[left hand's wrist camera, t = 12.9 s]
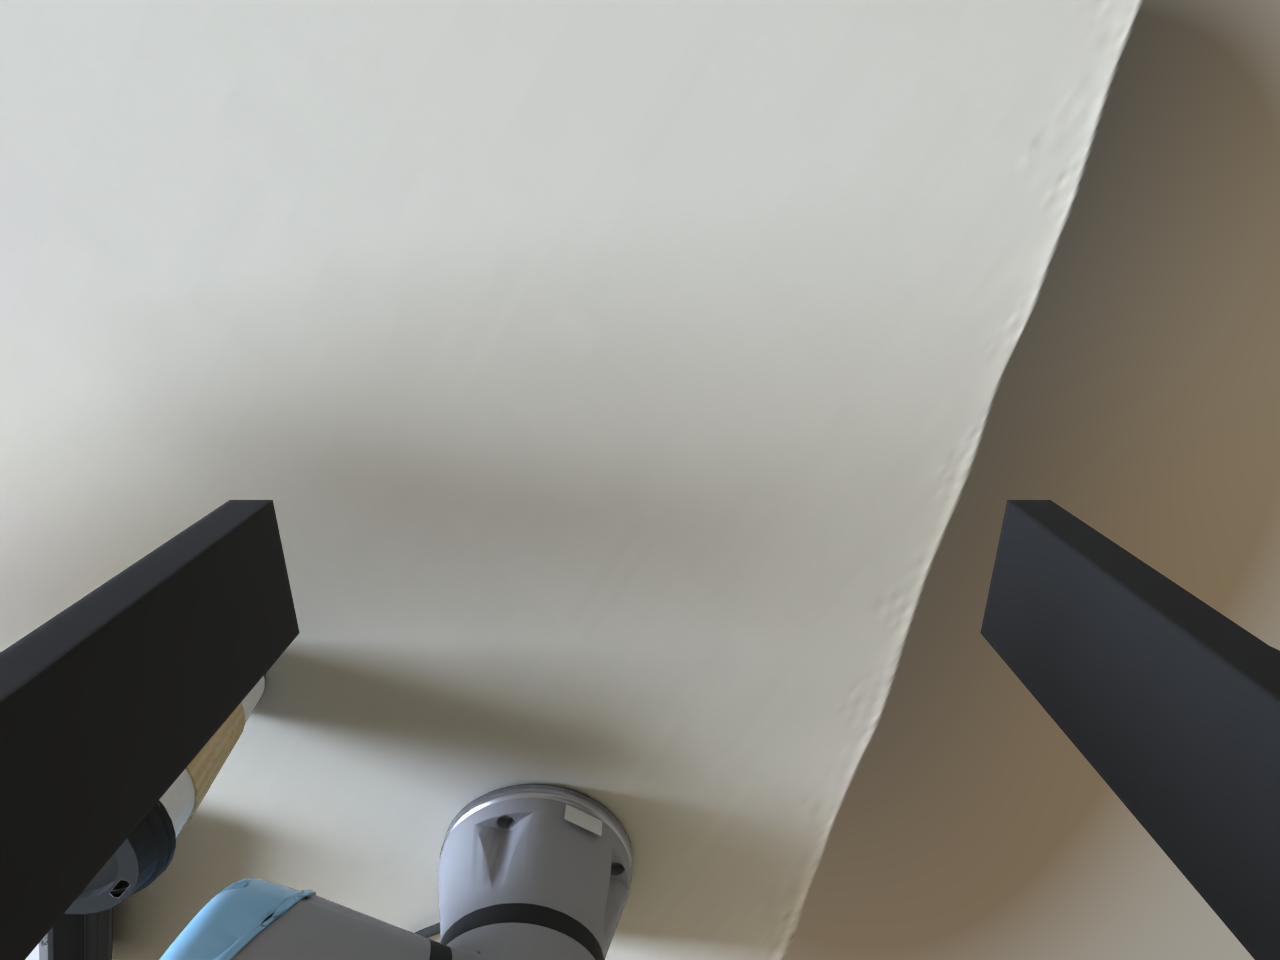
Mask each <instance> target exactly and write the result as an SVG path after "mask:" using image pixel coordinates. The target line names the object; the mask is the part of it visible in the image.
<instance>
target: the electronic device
mask: <svg viewBox="0 0 1280 960" xmlns="http://www.w3.org/2000/svg"><path fill="white" fill-rule="evenodd" d="M112 947H113V907H112V908H110V909H107V910H104V911H101V912H97V913H89V914H65V913H64V914H63V915H62V916H61V917H60V919H59V920H58V921H57V922H56V923H55V925H54V926H53V927H52V928H51V929H50V931H49V932H48V933H47V934H46V935H45V937H44V938H43V939H42V940H41V941H40V942H39V944H38V945H37V946H36V947H35V948H34V950H33V951H32V952H31V953H30V954H29V956H28V957H27V958H26V959H25V960H111V958H112Z"/></svg>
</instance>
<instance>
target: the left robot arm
mask: <svg viewBox="0 0 1280 960" xmlns="http://www.w3.org/2000/svg"><path fill="white" fill-rule="evenodd" d="M298 634H299V629H298V624H297V619H296V614H295V609H294V604H293V599H292V594H291V589H290V584H289V579H288V574H287V569H286V564H285V559H284V554H283V549H282V544H281V539H280V534H279V529H278V524H277V519H276V514H275V509H274V504H273V500H229V501H228V502H226V503H225V504H223V505H222V506H220V507H219V508H217V509H216V510H214V511H213V512H211V513H210V514H208V515H207V516H205V517H204V518H202V519H201V520H199V521H198V522H196V523H195V524H193V525H192V526H190V527H189V528H187V529H186V530H184V531H183V532H181V533H180V534H178V535H177V536H175V537H174V538H172V539H171V540H169V541H168V542H166V543H165V544H163V545H162V546H160V547H159V548H157V549H156V550H154V551H153V552H151V553H150V554H148V555H147V556H145V557H144V558H142V559H141V560H139V561H138V562H136V563H135V564H133V565H132V566H130V567H129V568H127V569H126V570H124V571H123V572H121V573H120V574H118V575H117V576H115V577H114V578H112V579H111V580H109V581H108V582H106V583H105V584H103V585H102V586H100V587H99V588H97V589H96V590H94V591H93V592H91V593H90V594H88V595H87V596H85V597H84V598H82V599H81V600H79V601H78V602H76V603H75V604H73V605H72V606H70V607H69V608H67V609H66V610H64V611H63V612H61V613H60V614H58V615H57V616H55V617H54V618H52V619H50V620H49V621H47V622H46V623H44V624H43V625H41V626H40V627H38V628H37V629H35V630H34V631H32V632H31V633H29V634H28V635H26V636H25V637H23V638H22V639H20V640H19V641H17V642H16V643H14V644H13V645H11V646H10V647H8V648H7V649H5V650H4V651H2V652H1V653H0V960H25V959H26V958H27V957H28V956H29V954H30V953H31V952H32V951H33V950H34V948H35V947H36V946H37V945H38V944H39V942H40V941H41V940H42V939H43V938H44V937H45V935H46V934H47V933H48V932H49V931H50V929H51V928H52V927H53V926H54V925H55V923H56V922H57V921H58V920H59V919H60V917H61V916H62V915H63V914H64V913H65V912H66V910H67V909H68V908H69V907H70V906H71V904H72V903H73V902H74V901H75V900H76V898H77V897H78V896H79V895H80V894H81V892H82V891H83V890H84V889H85V888H86V886H87V885H88V884H89V883H90V882H91V881H92V879H93V878H94V877H95V876H96V875H97V873H98V872H99V871H100V870H101V869H102V867H103V866H104V865H105V864H106V863H107V861H108V860H109V859H110V858H111V857H112V856H113V854H114V853H115V852H116V851H117V850H118V848H119V847H120V846H121V845H122V844H123V842H124V841H125V840H126V839H127V838H128V836H129V835H130V834H131V833H132V832H133V830H134V829H135V828H136V827H137V826H138V825H139V823H140V822H141V821H142V820H143V819H144V817H145V816H146V815H147V814H148V813H149V811H150V810H151V809H152V808H153V807H154V805H155V804H156V803H157V802H158V801H159V800H160V798H161V797H162V796H163V795H164V794H165V792H166V791H167V790H168V789H169V788H170V786H171V785H172V784H173V783H174V782H175V780H176V779H177V778H178V777H179V776H180V775H181V773H182V772H183V771H184V770H185V769H186V767H187V766H188V765H189V764H190V763H191V761H192V760H193V759H194V758H195V757H196V755H197V754H198V753H199V752H200V751H201V749H202V748H203V747H204V746H205V745H206V744H207V742H208V741H209V740H210V739H211V738H212V736H213V735H214V734H215V733H216V732H217V730H218V729H219V728H220V727H221V726H222V724H223V723H224V722H225V721H226V720H227V719H228V717H229V716H230V715H231V714H232V713H233V711H234V710H235V709H236V708H237V707H238V705H239V704H240V703H241V702H242V701H243V699H244V698H245V697H246V696H247V695H248V693H249V692H250V691H251V690H252V689H253V688H254V686H255V685H256V684H257V683H258V682H259V680H260V679H261V678H262V677H263V676H264V674H265V673H266V672H267V671H268V670H269V668H270V667H271V666H272V665H273V664H274V663H275V661H276V660H277V659H278V658H279V657H280V655H281V654H282V653H283V652H284V651H285V649H286V648H287V647H288V646H289V645H290V643H291V642H292V641H293V640H294V639H295V638H296V636H297V635H298ZM981 634H982V635H983V636H984V638H985V639H986V640H987V641H988V642H989V643H990V645H991V646H992V647H993V648H994V649H995V651H996V652H997V653H998V654H999V655H1000V657H1001V658H1002V659H1003V660H1004V661H1005V663H1006V664H1007V665H1008V666H1009V667H1010V668H1011V670H1012V671H1013V672H1014V673H1015V674H1016V676H1017V677H1018V678H1019V679H1020V680H1021V682H1022V683H1023V684H1024V685H1025V686H1026V688H1027V689H1028V690H1029V691H1030V692H1031V693H1032V695H1033V696H1034V697H1035V698H1036V699H1037V701H1038V702H1039V703H1040V704H1041V705H1042V707H1043V708H1044V709H1045V710H1046V711H1047V713H1048V714H1049V715H1050V716H1051V717H1052V719H1053V720H1054V721H1055V722H1056V723H1057V724H1058V726H1059V727H1060V728H1061V729H1062V730H1063V732H1064V733H1065V734H1066V735H1067V736H1068V738H1069V739H1070V740H1071V741H1072V742H1073V744H1074V745H1075V746H1076V747H1077V748H1078V749H1079V751H1080V752H1081V753H1082V754H1083V755H1084V757H1085V758H1086V759H1087V760H1088V761H1089V763H1090V764H1091V765H1092V766H1093V767H1094V769H1095V770H1096V771H1097V772H1098V773H1099V775H1100V776H1101V777H1102V778H1103V779H1104V780H1105V782H1106V783H1107V784H1108V785H1109V786H1110V788H1111V789H1112V790H1113V791H1114V792H1115V794H1116V795H1117V796H1118V797H1119V798H1120V799H1121V801H1122V802H1123V803H1124V804H1125V805H1126V807H1127V808H1128V809H1129V810H1130V811H1131V813H1132V814H1133V815H1134V816H1135V817H1136V819H1137V820H1138V821H1139V822H1140V823H1141V825H1142V826H1143V827H1144V828H1145V829H1146V830H1147V832H1148V833H1149V834H1150V835H1151V836H1152V838H1153V839H1154V840H1155V841H1156V842H1157V844H1158V845H1159V846H1160V847H1161V848H1162V850H1163V851H1164V852H1165V853H1166V854H1167V856H1168V857H1169V858H1170V859H1171V860H1172V861H1173V863H1174V864H1175V865H1176V866H1177V867H1178V869H1179V870H1180V871H1181V872H1182V873H1183V875H1184V876H1185V877H1186V878H1187V879H1188V881H1189V882H1190V883H1191V884H1192V885H1193V886H1194V888H1195V889H1196V890H1197V891H1198V892H1199V894H1200V895H1201V896H1202V897H1203V898H1204V900H1205V901H1206V902H1207V903H1208V904H1209V906H1210V907H1211V908H1212V909H1213V910H1214V912H1215V913H1216V914H1217V915H1218V916H1219V917H1220V919H1221V920H1222V921H1223V922H1224V923H1225V925H1226V926H1227V927H1228V928H1229V929H1230V931H1231V932H1232V933H1233V934H1234V935H1235V937H1236V938H1237V939H1238V940H1239V941H1240V942H1241V944H1242V945H1243V946H1244V947H1245V948H1246V950H1247V951H1248V952H1249V953H1250V954H1251V956H1252V957H1253V958H1254V959H1255V960H1280V651H1279V650H1277V649H1275V648H1273V647H1270V646H1268V645H1267V644H1266V643H1264V642H1262V641H1261V640H1260V639H1258V638H1257V637H1255V636H1254V635H1252V634H1251V633H1249V632H1248V631H1246V630H1245V629H1243V628H1242V627H1240V626H1239V625H1237V624H1236V623H1234V622H1233V621H1231V620H1229V619H1228V618H1226V617H1225V616H1223V615H1222V614H1220V613H1219V612H1217V611H1216V610H1214V609H1213V608H1211V607H1210V606H1208V605H1207V604H1205V603H1204V602H1202V601H1201V600H1199V599H1198V598H1196V597H1195V596H1193V595H1192V594H1190V593H1189V592H1187V591H1186V590H1184V589H1183V588H1181V587H1180V586H1178V585H1177V584H1175V583H1174V582H1172V581H1171V580H1169V579H1168V578H1166V577H1165V576H1163V575H1162V574H1160V573H1159V572H1157V571H1156V570H1154V569H1153V568H1151V567H1150V566H1148V565H1147V564H1145V563H1144V562H1142V561H1141V560H1139V559H1138V558H1136V557H1135V556H1133V555H1132V554H1130V553H1129V552H1127V551H1126V550H1124V549H1123V548H1121V547H1120V546H1118V545H1117V544H1115V543H1114V542H1112V541H1111V540H1109V539H1108V538H1106V537H1105V536H1103V535H1102V534H1100V533H1099V532H1097V531H1096V530H1094V529H1093V528H1091V527H1090V526H1088V525H1087V524H1085V523H1084V522H1082V521H1081V520H1079V519H1078V518H1076V517H1075V516H1073V515H1072V514H1070V513H1069V512H1067V511H1066V510H1064V509H1063V508H1061V507H1060V506H1058V505H1057V504H1055V503H1054V502H1052V501H1051V500H1007V504H1006V510H1005V514H1004V519H1003V524H1002V529H1001V534H1000V539H999V544H998V549H997V554H996V559H995V564H994V569H993V574H992V579H991V584H990V589H989V594H988V599H987V604H986V609H985V614H984V619H983V624H982V629H981ZM631 878H632V851H631V846H630V842H629V839H628V837H627V834H626V832H625V831H624V829H623V827H622V826H621V824H620V823H619V822H618V820H617V819H616V818H615V817H614V816H613V815H612V814H611V813H610V812H609V811H608V810H607V809H606V808H604V807H603V806H602V805H600V804H599V803H597V802H596V801H594V800H592V799H591V798H589V797H587V796H585V795H583V794H580V793H577V792H575V791H572V790H569V789H565V788H561V787H556V786H550V785H539V784H526V785H516V786H510V787H505V788H501V789H498V790H495V791H492V792H489V793H487V794H485V795H483V796H481V797H479V798H477V799H476V800H474V801H473V802H471V803H470V804H468V805H467V806H466V807H465V808H464V809H462V810H461V812H460V813H459V814H458V815H457V816H456V817H455V819H454V820H453V821H452V823H451V825H450V827H449V829H448V831H447V834H446V837H445V840H444V843H443V846H442V849H441V853H440V860H439V867H438V890H439V911H440V923H437V924H435V925H433V926H430V927H427V928H425V929H422V930H420V931H418V932H416V933H412V932H409V931H406V930H404V929H401V928H399V927H396V926H393V925H391V924H388V923H386V922H383V921H380V920H378V919H375V918H373V917H370V916H368V915H365V914H362V913H360V912H357V911H355V910H352V909H349V908H347V907H344V906H342V905H339V904H337V903H334V902H331V901H329V900H326V899H324V898H321V897H318V896H316V893H315V892H314V891H312V890H303V891H298V890H295V889H292V888H288V887H285V886H282V885H279V884H275V883H272V882H269V881H266V880H262V879H258V878H249V879H243V880H240V881H237V882H235V883H233V884H231V885H229V886H227V887H226V888H224V889H223V890H222V891H220V892H219V893H218V894H217V895H216V896H215V897H213V898H212V899H211V900H210V901H209V902H208V903H207V904H206V905H205V906H204V907H203V908H202V909H201V910H200V911H199V912H198V914H197V915H196V916H195V917H194V918H193V919H192V920H191V921H190V923H189V924H188V925H187V926H186V927H185V929H184V930H183V931H182V932H181V933H180V934H179V936H178V937H177V938H176V939H175V940H174V942H173V943H172V944H171V945H170V947H169V948H168V949H167V950H166V952H165V953H164V954H163V956H162V957H161V958H160V959H159V960H605V957H606V954H607V951H608V949H609V946H610V943H611V941H612V938H613V935H614V933H615V930H616V927H617V925H618V922H619V919H620V917H621V914H622V911H623V909H624V906H625V903H626V901H627V898H628V894H629V890H630V884H631ZM438 933H441V940H440V943H438V942H435V941H433V940H430V939H428V937H431V936H433V935H436V934H438Z"/></svg>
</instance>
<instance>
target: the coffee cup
mask: <svg viewBox="0 0 1280 960" xmlns="http://www.w3.org/2000/svg"><path fill="white" fill-rule="evenodd" d="M264 688H265V679H264V676H263V677H262V678H261V679H260V680H259V682H258V683H257V684H256V685H255V686H254V688H253V689H252V690H251V691H250V692H249V693H248V695H247V696H246V697H245V698H244V699H243V701H242V702H241V703H240V704H239V705H238V707H237V708H236V709H235V710H234V711H233V713H232V714H231V715H230V716H229V717H228V719H227V720H226V721H225V722H224V723H223V724H222V726H221V727H220V728H219V729H218V730H217V732H216V733H215V734H214V735H213V736H212V738H211V739H210V740H209V741H208V742H207V744H206V745H205V746H204V747H203V748H202V749H201V751H200V752H199V753H198V754H197V755H196V757H195V758H194V759H193V760H192V761H191V763H190V764H189V765H188V766H187V767H186V769H185V770H184V771H183V772H182V773H181V775H180V776H179V777H178V778H177V779H176V780H175V782H174V783H173V784H172V785H171V786H170V788H169V789H168V790H167V791H166V792H165V794H164V795H163V796H162V797H161V798H160V800H159V801H158V802H157V803H156V804H155V805H154V807H153V808H152V809H151V810H150V811H149V813H148V814H147V815H146V816H145V817H144V819H143V820H142V821H141V822H140V823H139V825H138V826H137V827H136V828H135V829H134V830H133V832H132V833H131V834H130V835H129V836H128V838H127V839H126V840H125V841H124V842H123V844H122V845H121V846H120V847H119V848H118V850H117V851H116V852H115V853H114V854H113V856H112V857H111V858H110V859H109V860H108V861H107V863H106V864H105V865H104V866H103V867H102V869H101V870H100V871H99V872H98V873H97V875H96V876H95V877H94V878H93V879H92V881H91V882H90V883H89V884H88V885H87V886H86V888H85V889H84V890H83V891H82V892H81V894H80V895H79V896H78V897H77V898H76V900H75V901H74V902H73V903H72V904H71V906H70V907H69V908H68V909H67V910H66V912H65V914H89V913H97V912H101V911H104V910H107V909H110V908H112V907H114V906H116V905H118V904H120V903H122V902H123V901H124V900H125V899H126V898H127V897H129V896H130V895H131V894H134V893H136V892H138V891H140V890H141V889H143V888H145V887H147V886H148V885H149V884H150V883H152V882H153V881H154V880H155V879H156V878H157V877H158V876H159V875H160V874H161V873H162V872H163V871H164V870H165V869H166V868H167V866H168V865H169V863H170V862H171V860H172V858H173V855H174V851H175V848H176V837H177V836H178V834H179V832H180V831H181V829H182V828H183V827H184V826H185V825H186V824H187V823H188V822H189V821H190V819H191V818H192V816H193V815H194V813H195V811H196V810H197V808H198V806H199V805H200V803H201V801H202V799H203V798H204V796H205V794H206V793H207V791H208V789H209V788H210V786H211V784H212V783H213V781H214V779H215V777H216V776H217V774H218V772H219V771H220V769H221V767H222V766H223V764H224V762H225V761H226V759H227V757H228V755H229V754H230V752H231V750H232V749H233V747H234V745H235V744H236V742H237V740H238V739H239V737H240V735H241V733H242V732H243V728H244V725H245V723H246V721H247V719H248V718H249V716H250V714H251V713H252V711H253V709H254V708H255V706H256V704H257V703H258V701H259V699H260V698H261V696H262V694H263V692H264ZM126 887H128V888H126ZM123 888H126V889H123Z"/></svg>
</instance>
